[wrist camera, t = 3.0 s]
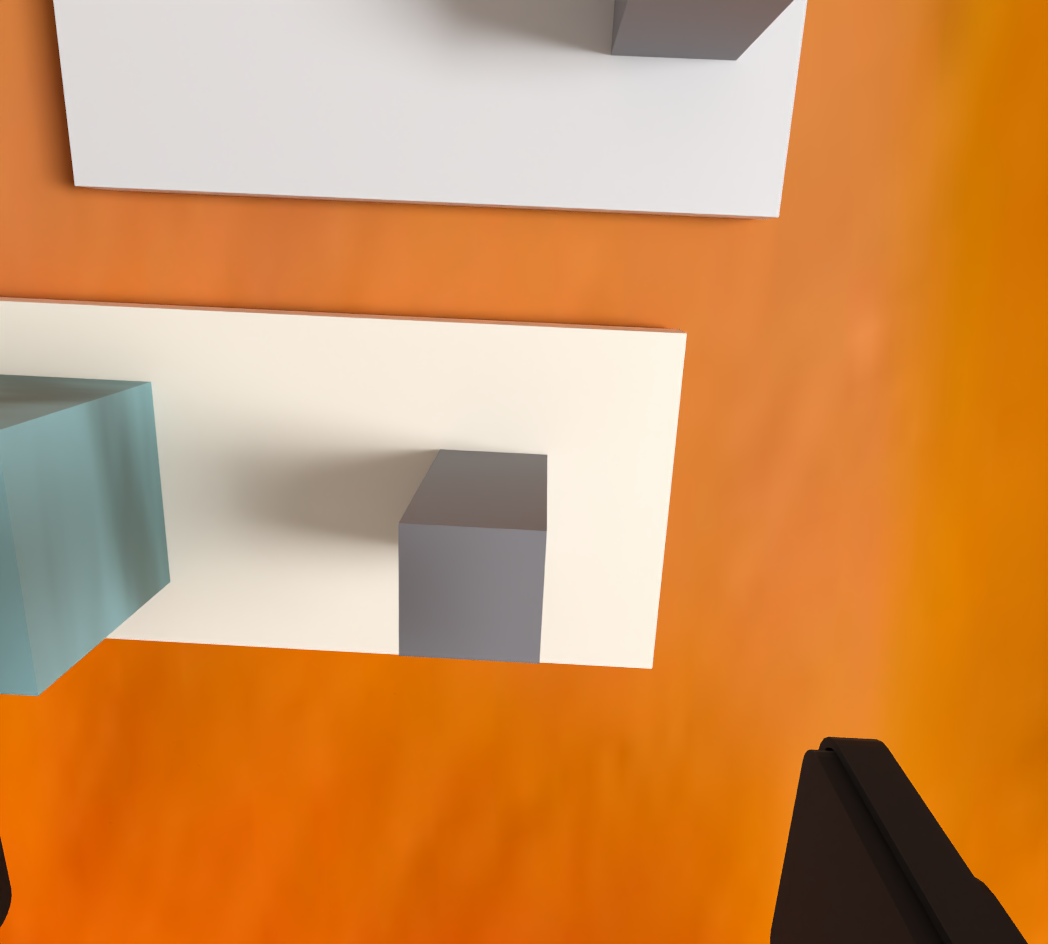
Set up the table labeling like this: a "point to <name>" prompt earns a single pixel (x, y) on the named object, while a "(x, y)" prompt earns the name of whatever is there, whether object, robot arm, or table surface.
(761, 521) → the table surface
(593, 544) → the strip
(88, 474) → the block
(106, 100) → the empty strip
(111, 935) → the table surface
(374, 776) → the table surface
